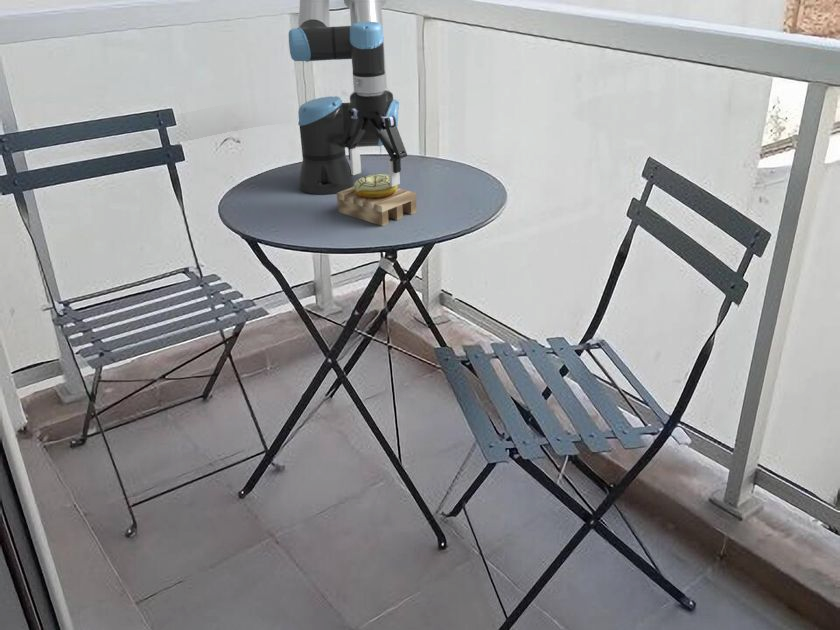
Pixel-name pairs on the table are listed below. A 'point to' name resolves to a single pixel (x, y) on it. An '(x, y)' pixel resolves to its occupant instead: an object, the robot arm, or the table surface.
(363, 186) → the decorated donut
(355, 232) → the table surface
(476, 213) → the table surface
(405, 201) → the pallet
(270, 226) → the table surface
